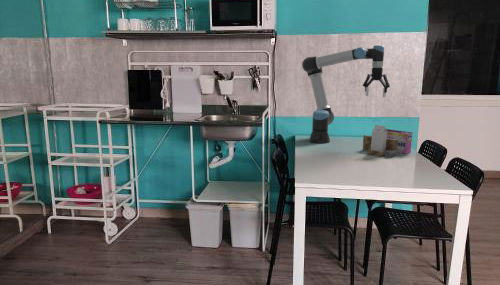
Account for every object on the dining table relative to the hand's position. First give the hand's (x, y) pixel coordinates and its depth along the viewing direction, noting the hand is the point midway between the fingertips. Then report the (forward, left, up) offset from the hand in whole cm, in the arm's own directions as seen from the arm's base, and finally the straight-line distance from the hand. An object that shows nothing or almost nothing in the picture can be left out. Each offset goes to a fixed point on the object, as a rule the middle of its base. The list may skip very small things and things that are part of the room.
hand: (375, 96), depth 288 cm
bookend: (+31, -32, -35) cm, 56 cm away
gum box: (+23, -13, -35) cm, 44 cm away
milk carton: (+22, -32, -35) cm, 53 cm away
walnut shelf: (+20, -32, -35) cm, 51 cm away
